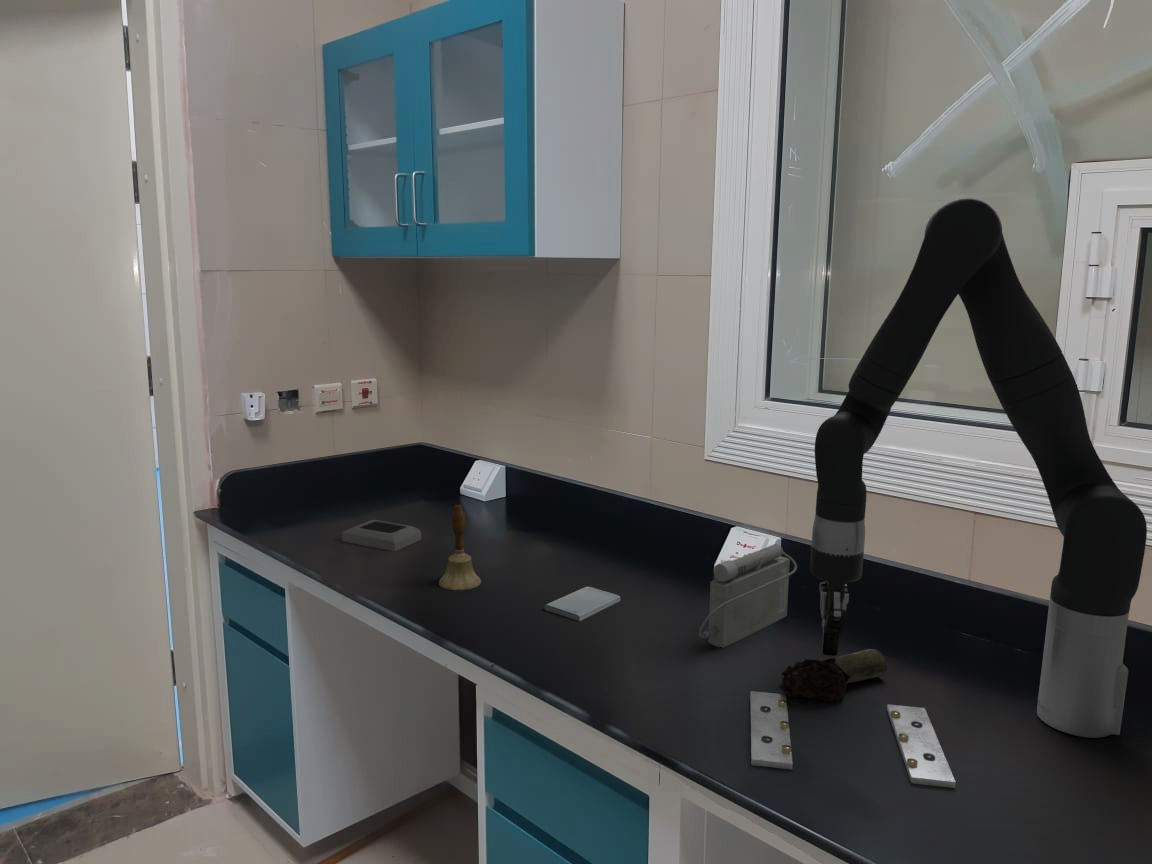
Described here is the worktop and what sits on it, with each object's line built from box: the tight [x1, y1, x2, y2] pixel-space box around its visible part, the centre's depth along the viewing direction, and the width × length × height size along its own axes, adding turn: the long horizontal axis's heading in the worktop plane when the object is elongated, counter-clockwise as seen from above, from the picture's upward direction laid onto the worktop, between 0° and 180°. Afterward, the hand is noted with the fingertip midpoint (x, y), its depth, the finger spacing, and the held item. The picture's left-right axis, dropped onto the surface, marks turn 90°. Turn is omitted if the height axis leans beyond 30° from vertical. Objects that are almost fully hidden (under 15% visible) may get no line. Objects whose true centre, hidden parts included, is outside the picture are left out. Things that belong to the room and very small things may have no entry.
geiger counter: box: [698, 543, 798, 649], centre depth 144 cm, size 14×6×25 cm
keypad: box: [341, 519, 422, 552], centre depth 194 cm, size 10×4×15 cm
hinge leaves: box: [749, 690, 956, 789], centre depth 113 cm, size 24×18×1 cm
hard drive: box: [544, 586, 621, 622], centre depth 158 cm, size 2×8×12 cm
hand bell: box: [438, 504, 482, 591], centre depth 167 cm, size 8×8×16 cm
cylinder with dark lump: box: [778, 648, 888, 703], centre depth 126 cm, size 18×7×6 cm, turn 117°
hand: (829, 653), depth 130 cm, fingers closed
